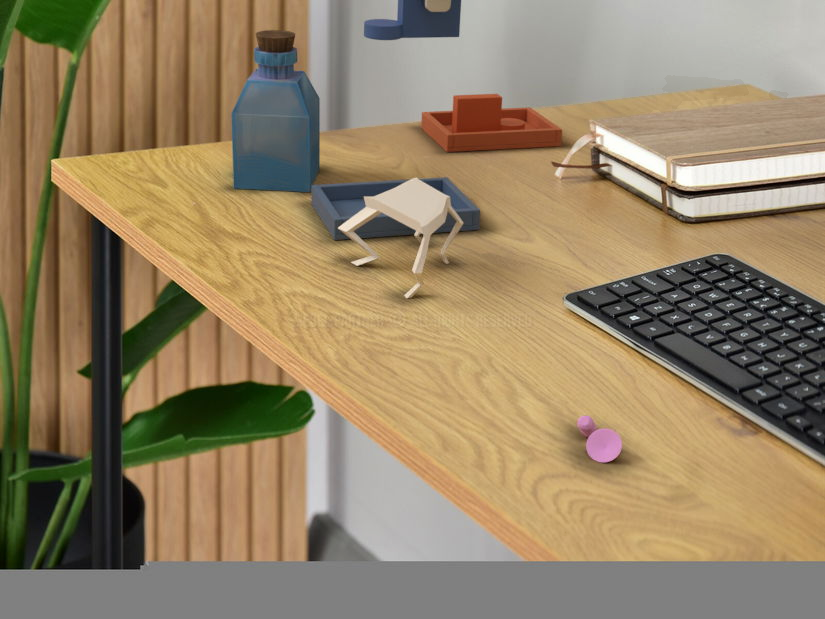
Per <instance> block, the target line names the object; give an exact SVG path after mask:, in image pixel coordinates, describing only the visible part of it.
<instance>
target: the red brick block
mask: <svg viewBox="0 0 825 619" xmlns="http://www.w3.org/2000/svg"><path fill="white" fill-rule="evenodd" d="M452 99H453V100H452V111H453V116H452V133H465V132H486V131H506V130H525V122H524V121H522V120H519V119H514V118H502V119H501V110H502V109H503V96H501V95H500V94H498V93H479V94H457V95H455V94H454V95H453V97H452Z"/></svg>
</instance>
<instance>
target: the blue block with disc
mask: <svg viewBox="0 0 825 619" xmlns="http://www.w3.org/2000/svg"><path fill="white" fill-rule="evenodd" d="M461 11H462V0H451V6H450V9H449V10H448V11H446V12H431V11H429V10H427V9H426V8H424V7H423V6H422V3H421V0H397V17H396V18H397V19H396V20H395V19H388V18H371V19H367V20H364V21H363V36H364V37H365V38H366V39H370V40H375V41H376V40H377V41H397V40H400V39H422V38H423V39H424V38H425V39H427V38H430V39H431V38H460V32H461V30H460V29H461Z"/></svg>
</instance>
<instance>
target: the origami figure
mask: <svg viewBox="0 0 825 619" xmlns="http://www.w3.org/2000/svg"><path fill="white" fill-rule="evenodd" d="M410 179H411V180H409V181H407V182H405V183H403V184H401V185H399V186H397V187H395V188H393V189H391V190H388V191H386V192H383V193H381V194H379V195H376V196H374V197H364V200H365V204H366V207H365V208H364V209H362V210H361V211H360V212H358V213H357V214H356V215H354V216H353V217H351V218H350V219H349V220H347V221H346V222H345V223H343V224H342V225H341V226H339V227H338V229H339V230H341V231H342V232H343V233H344V234H346V235H347V236H348V237H349V238H350V239H349V240H351V241H353V242H354V243H355V244H356V245H358V246H359V247H360V248H362V249H363V250H364V251H365V252H367V253H368V254H369V256H366V257H363V258H360V259H359V258H358V259H356V260H353V261H351V262H350V263H351V264H353V265H354V266H356V267H358V266H363V265H366V264H368V263H371V262H373V261H376V260H379V259H381V256H380V255H378V253H376V251H374V249H372V248H371V247H370V246H369V245H368V244H367V243H366V242H365V241H364V240H363V238H360V237H359V236H358V235H357V234H356V233H355V232H354V230H356V229H357V228H359V227H360V226H362V225H364V224H365V223H367V222H368V221H370V220H371V219H373V218H374V217H376V216H377V215H379V214H381V213H384V214H386V215H387V216H389V217H391V218H393V219H395V220H397V221H399V222H401V223H403V224H405V225H407V226H408V227H410V228H412V229H414V230H416V232H415V234H413V236H414V237H415V239H416V240H417V241H418V242H419V243H420V245H419V248H418V250H417V254H416V257H415V259H414V263H413V265H412V268H411V271H412V273H413V276H414V278H415V280H416V284H415V285H414V286H412V288H410V289H408V291H407V292H406V293H405V294H404V295H403V297H405V299H410V298H413V296H415V294H416V293H417V292H418V291H419V290H420V289H421V288H422V287H423V286H424V278H423V269H424V266H425V262H426V259H427V255H428V250H429V244H430V239H431V235H433V234H434V233H433V232H435V231H436V230H437V229H438V228H439V227H440V226H441V225H442V224H443V223H444V222H445V220H446V216H447V210H448V212H449V213H450V214H451V215H452V216H453V217H454V219H455V220H456V223H455V225H454V227H453V229H452V231H451V232H449V235H448V237H447V238H446V240H445V242H444V244H443V246H442V248H441V250H440V253H439V254H440V257H441V259H442V261H443V262H444V264H446V265H448V264H450V262H449V260H448V258H447V256H446V255H445V253H446V251H447V250H448V248H449V247H450V245H451V243H452V242H453V240H454V239H455V238H456V236H457V235H458V233H459V232H460V231H459V230H460V228H461V227H462V225H463V221H462V220H461V218H460V217H459V216H458V214H457V213H456V212H455V210H454V209H453V208H452V206H451V201H450V196H447V195H445V194H443V193H441V192H440V191H438V190H436V189H434V188H433V187H431V186H429V185H428V184H426V183H424V182H422V181H421V180H419V179H420V178H418V177H417V176H415V177H412V178H410ZM421 233H422V234H421ZM420 235H422V237H421V236H420Z"/></svg>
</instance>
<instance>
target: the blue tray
mask: <svg viewBox="0 0 825 619" xmlns="http://www.w3.org/2000/svg"><path fill="white" fill-rule="evenodd" d="M411 179H412V178H409V179H392V180H391V179H390V180H374V181H359V182H358V181H357V182H339V183H325V184H323V183H322V184H313V185H312V186H311V190H310V193H311V194H310V195H311V198H310V199H311V201H310V204H311V206H312V208H313V209H314V211H315V212H316V214H317V216H318V217H319V218H320V220H321V221H322V223H323V225H324V226H325V228H326V229H327V231H328V232H329V234H330V235H331V237H332V239H333V240H334V241H343V240H351V239H350V238H349V237H348V236H347V235H346V234H344V233H343V232H342V231H341V230H339V229H338V227H339V226H341V225H342V224H343V223H345V222H346V221H347V220H349V219H350V218H351V217H353V216H354V215H356V214H357V213H358V212H360V211H361V210H362V209H364V208H365V207H366V204H365V200H364V197H374V196H376V195H379V194H381V193H383V192H386V191H388V190H391V189H393V188H395V187H397V186H399V185H401V184H403V183H405V182H407V181H409V180H411ZM418 179H419V180H421V181H422V182H424V183H426V184H428V185H429V186H431V187H433V188H434V189H436V190H438V191H440V192H441V193H443V194H445V195H447V196H450V201H451V206H452V208H453V209H454V210H455V212H456V213H457V214H458V216H459V217H460V218H461V220H462V221H463V225H462V227H461V228H460V230H459V231H458V232H467V231H479V230H480V224H481V223H480V222H481V209H480V208H479V207H478V206H477V205H476V204H475V203H474V202H473V201H472V200H471V199H470V198H469V197H468V196H467V195H466V194H465V192H464V193H463V191H462V189H460V188H459V187H458V186H457V185H456V184H455V183H454V182H453V181H451V179H450V178H449V177H447V176H444V177H425V178H418ZM455 223H456V220H455V219H454V217H453V216H452V215H451V214H450V213H449V212H448V210H447V216H446V220H445V222H444V223H443V224H442V225H441V226H440V227H439V228H438V229H437V230H436V231H435V232H433V233H432V234H440V233H451V231H452V229H453V227H454V225H455ZM354 232H355V233H356V234H357V235H358V236H359V237H360V238H361V239H371V238H385V237H397V236H399V237H400V236H414V234H415V232H416V230H414V229H412V228H410V227H408V226H407V225H405V224H403V223H401V222H399V221H397V220H395V219H393V218H391V217H389V216H387V215H386V214H384V213H381V214H379V215H377V216H376V217H374V218H373V219H371V220H370V221H368V222H367V223H365V224H364V225H362V226H360V227H359V228H357V229H356V230H354ZM420 235H423V234H422V233H421V234H420Z"/></svg>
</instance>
